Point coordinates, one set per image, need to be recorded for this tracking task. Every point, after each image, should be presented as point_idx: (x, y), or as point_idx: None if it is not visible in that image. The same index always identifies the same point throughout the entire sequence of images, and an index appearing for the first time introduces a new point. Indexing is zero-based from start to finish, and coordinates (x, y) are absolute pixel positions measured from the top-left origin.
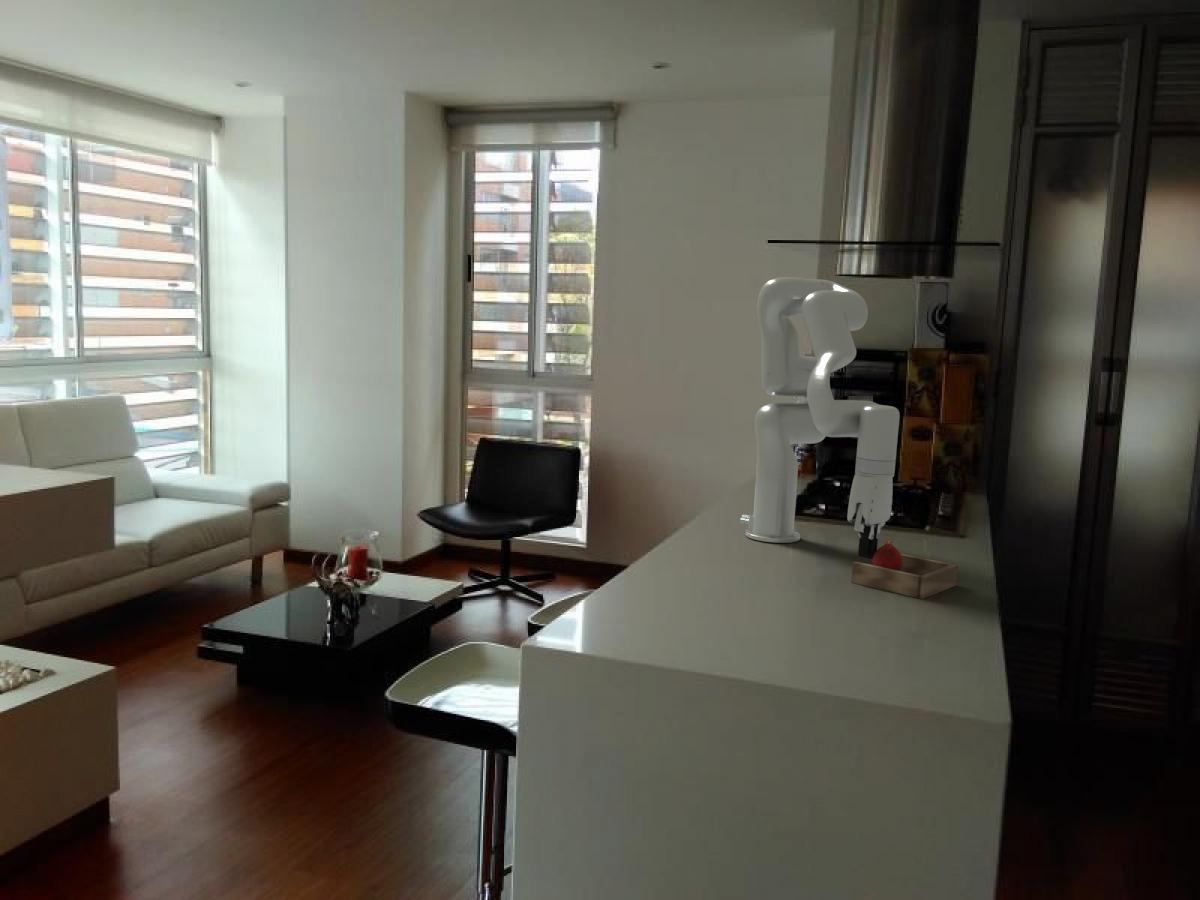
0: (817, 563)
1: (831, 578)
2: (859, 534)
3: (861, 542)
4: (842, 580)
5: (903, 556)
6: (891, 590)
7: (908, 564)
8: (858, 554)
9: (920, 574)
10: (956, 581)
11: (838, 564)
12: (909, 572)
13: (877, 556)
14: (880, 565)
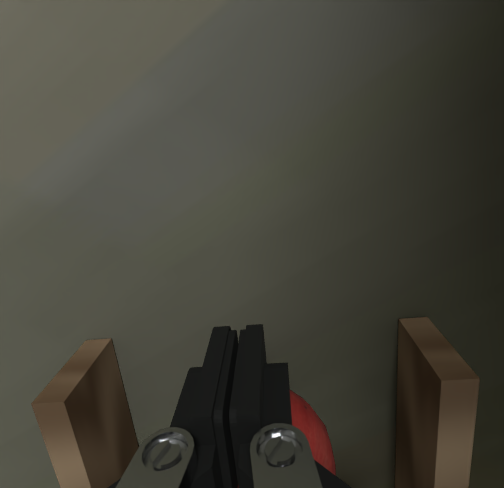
0: (231, 11)
1: (54, 256)
2: (137, 462)
3: (175, 417)
4: (76, 301)
5: (434, 463)
6: None
7: (415, 456)
8: (213, 330)
9: (400, 472)
10: None
11: (321, 104)
12: (402, 432)
13: None
14: None
